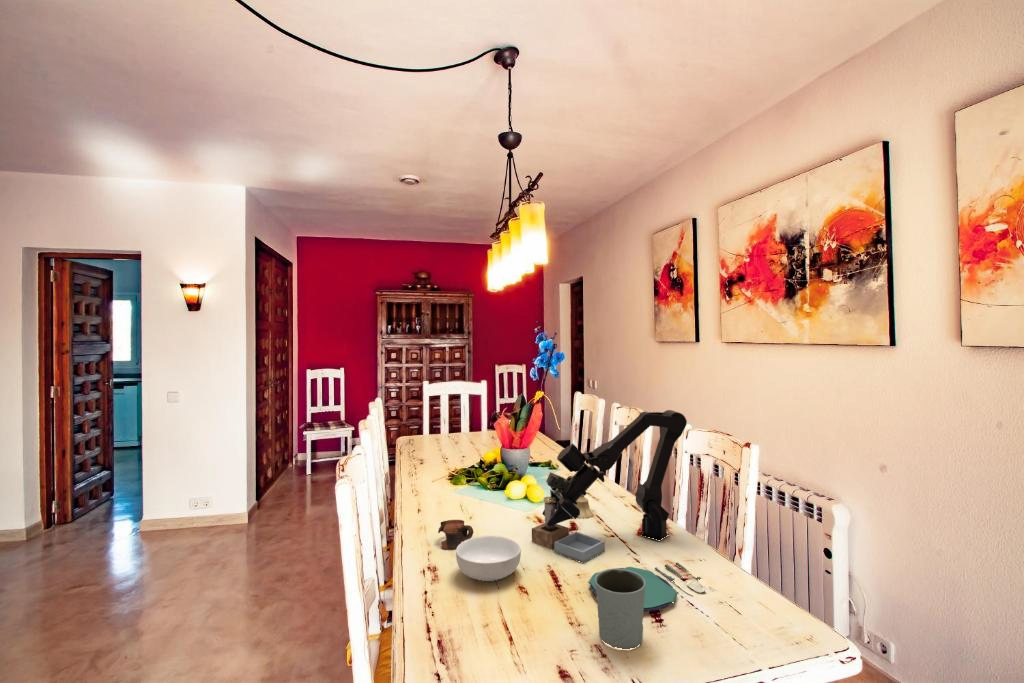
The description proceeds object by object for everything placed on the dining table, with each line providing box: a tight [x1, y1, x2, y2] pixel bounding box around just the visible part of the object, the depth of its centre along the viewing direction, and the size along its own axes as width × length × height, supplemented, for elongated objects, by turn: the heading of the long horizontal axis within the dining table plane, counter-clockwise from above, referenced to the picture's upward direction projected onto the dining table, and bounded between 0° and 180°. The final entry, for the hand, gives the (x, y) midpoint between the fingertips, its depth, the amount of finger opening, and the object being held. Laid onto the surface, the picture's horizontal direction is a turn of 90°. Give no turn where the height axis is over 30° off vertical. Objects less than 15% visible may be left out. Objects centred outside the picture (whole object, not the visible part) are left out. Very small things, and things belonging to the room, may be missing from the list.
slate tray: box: [553, 531, 606, 564], centre depth 140 cm, size 10×10×3 cm
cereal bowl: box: [455, 535, 522, 582], centre depth 128 cm, size 17×17×7 cm
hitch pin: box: [543, 496, 556, 532], centre depth 148 cm, size 4×4×13 cm
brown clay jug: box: [437, 519, 475, 550], centre depth 148 cm, size 12×10×8 cm
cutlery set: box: [587, 562, 702, 613], centre depth 119 cm, size 20×30×2 cm, turn 109°
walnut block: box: [531, 522, 570, 550], centre depth 148 cm, size 8×8×4 cm
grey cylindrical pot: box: [595, 568, 646, 649], centre depth 99 cm, size 10×10×12 cm
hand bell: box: [576, 495, 595, 520], centre depth 171 cm, size 8×8×16 cm
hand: (545, 519), depth 148 cm, fingers open, 8 cm apart
